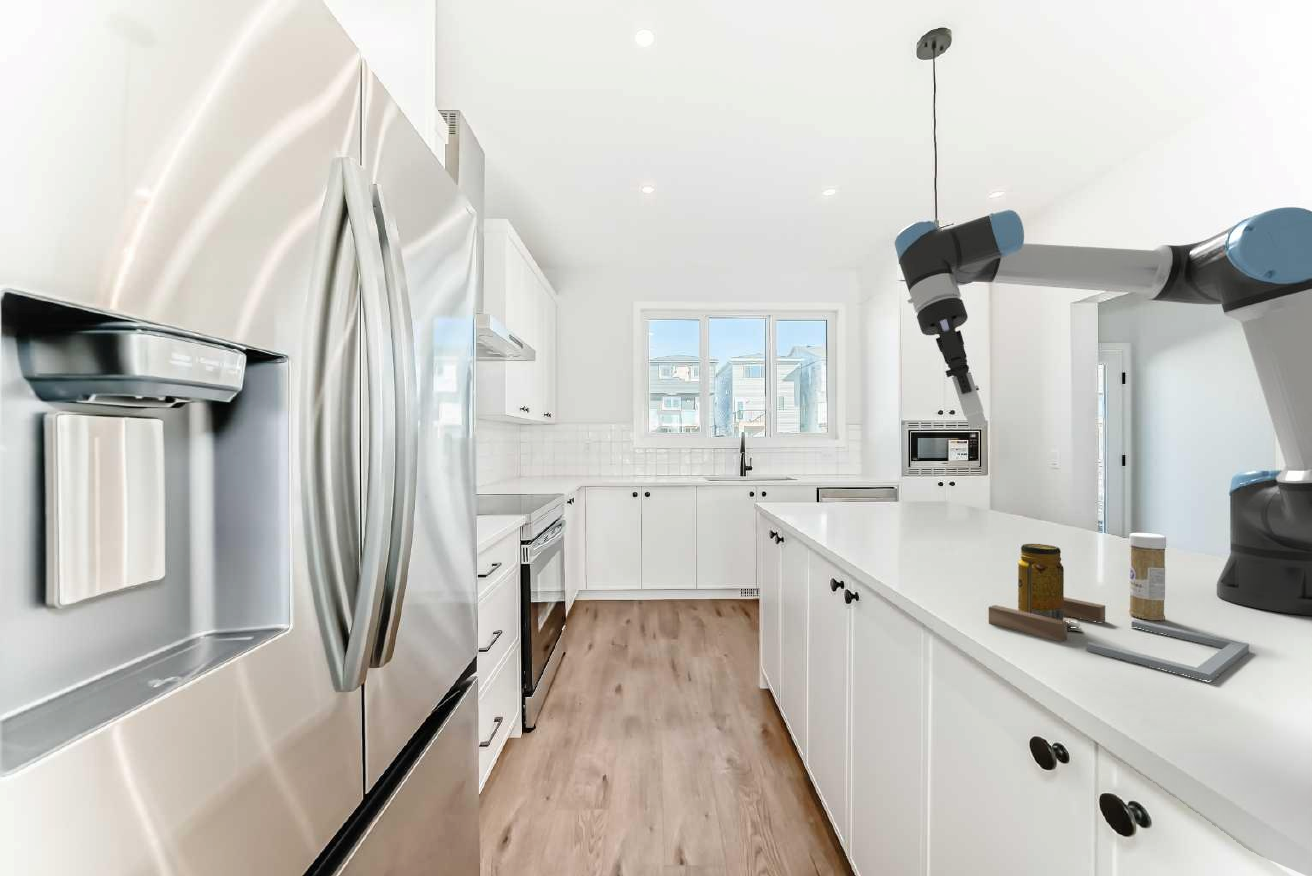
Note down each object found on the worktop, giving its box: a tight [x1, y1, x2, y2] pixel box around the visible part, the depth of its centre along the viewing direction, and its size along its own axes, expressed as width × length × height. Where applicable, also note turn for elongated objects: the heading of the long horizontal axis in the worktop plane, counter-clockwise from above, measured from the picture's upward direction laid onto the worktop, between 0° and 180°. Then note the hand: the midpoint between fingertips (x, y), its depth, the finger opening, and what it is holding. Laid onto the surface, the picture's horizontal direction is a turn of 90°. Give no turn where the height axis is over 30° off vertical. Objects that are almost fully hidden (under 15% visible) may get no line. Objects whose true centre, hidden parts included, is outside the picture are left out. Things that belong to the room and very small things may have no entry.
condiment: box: [1017, 543, 1084, 633], centre depth 92 cm, size 7×8×12 cm
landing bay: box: [1086, 619, 1250, 681], centre depth 80 cm, size 18×12×1 cm
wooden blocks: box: [988, 596, 1106, 643], centre depth 92 cm, size 16×10×2 cm, turn 124°
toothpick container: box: [1128, 532, 1167, 621], centre depth 94 cm, size 5×5×14 cm
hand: (976, 421), depth 97 cm, fingers open, 13 cm apart
